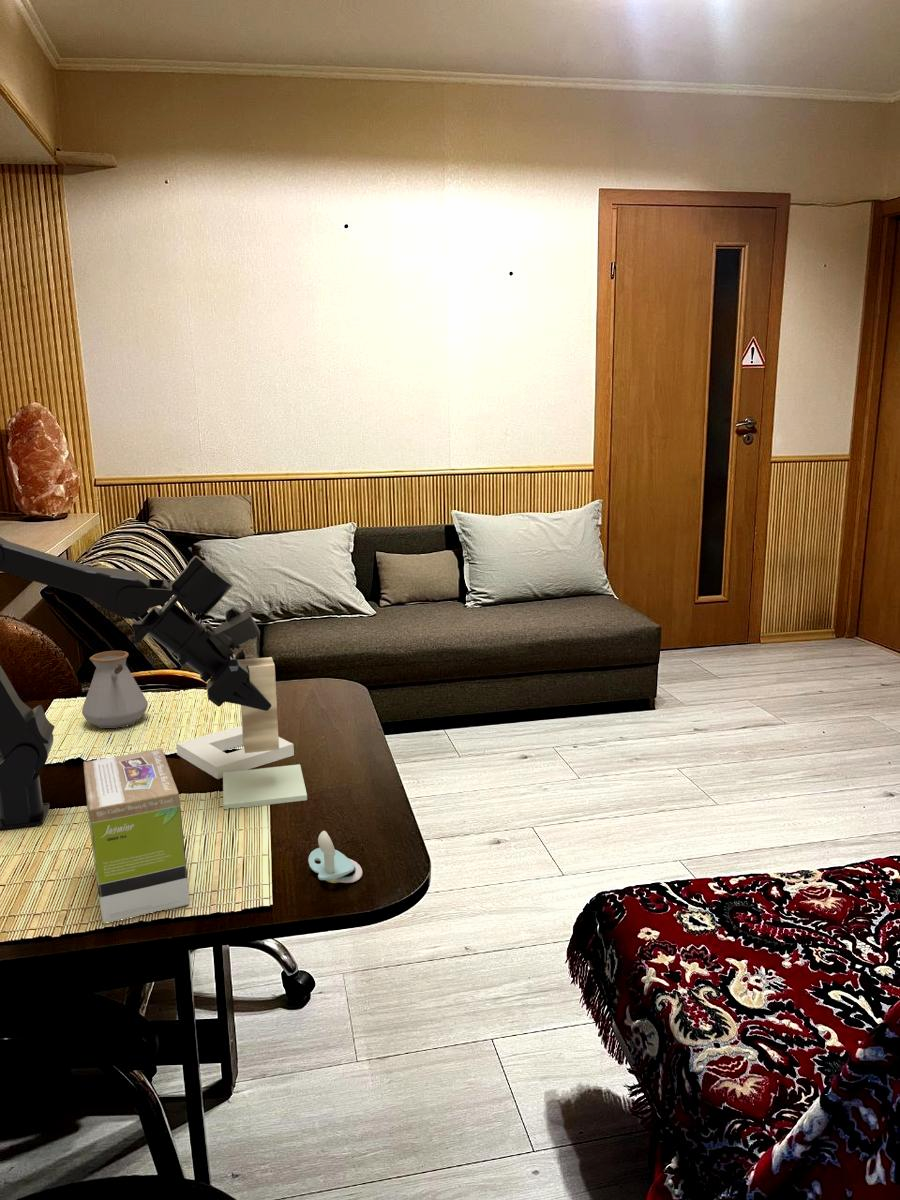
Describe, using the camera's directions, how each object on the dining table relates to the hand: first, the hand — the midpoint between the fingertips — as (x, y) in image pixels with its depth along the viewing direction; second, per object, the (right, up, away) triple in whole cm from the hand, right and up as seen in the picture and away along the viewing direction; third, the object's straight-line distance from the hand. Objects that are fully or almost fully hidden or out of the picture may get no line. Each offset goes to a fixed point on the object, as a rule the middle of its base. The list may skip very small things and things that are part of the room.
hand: (267, 702), depth 137 cm
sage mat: (-1, -13, +2) cm, 14 cm away
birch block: (-1, -7, +1) cm, 7 cm away
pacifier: (+13, -19, -23) cm, 33 cm away
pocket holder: (-8, -11, +16) cm, 21 cm away
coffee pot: (-32, -8, +28) cm, 44 cm away
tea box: (-10, -20, -25) cm, 34 cm away
